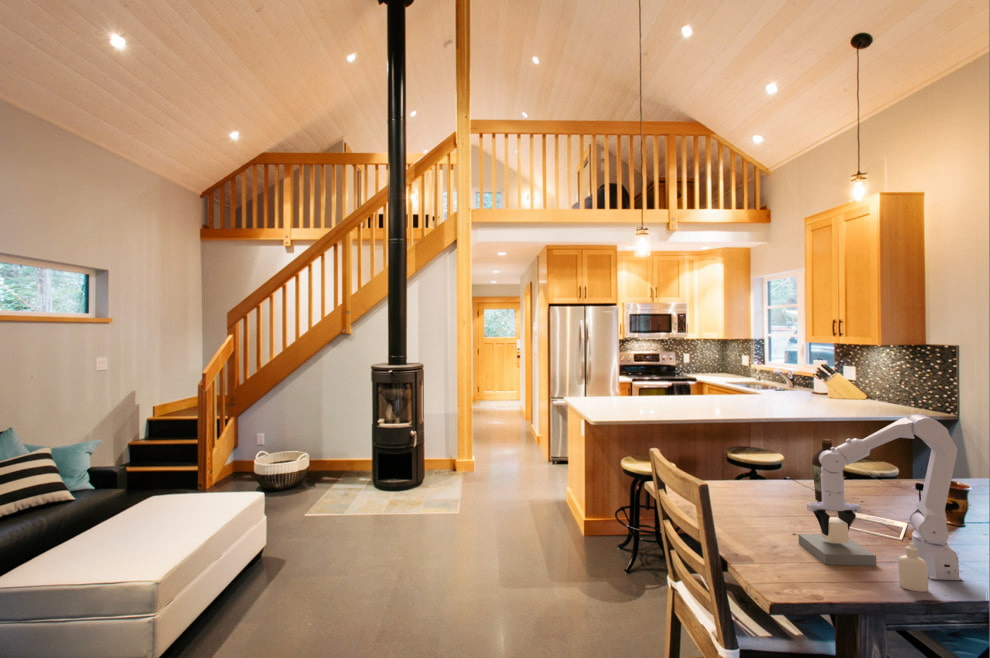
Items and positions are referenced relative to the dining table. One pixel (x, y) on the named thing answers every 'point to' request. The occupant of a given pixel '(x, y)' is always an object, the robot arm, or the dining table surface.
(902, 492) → the dining table surface
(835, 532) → the cream block
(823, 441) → the olive oil
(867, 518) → the photo frame
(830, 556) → the base plinth
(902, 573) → the eye dropper bottle
